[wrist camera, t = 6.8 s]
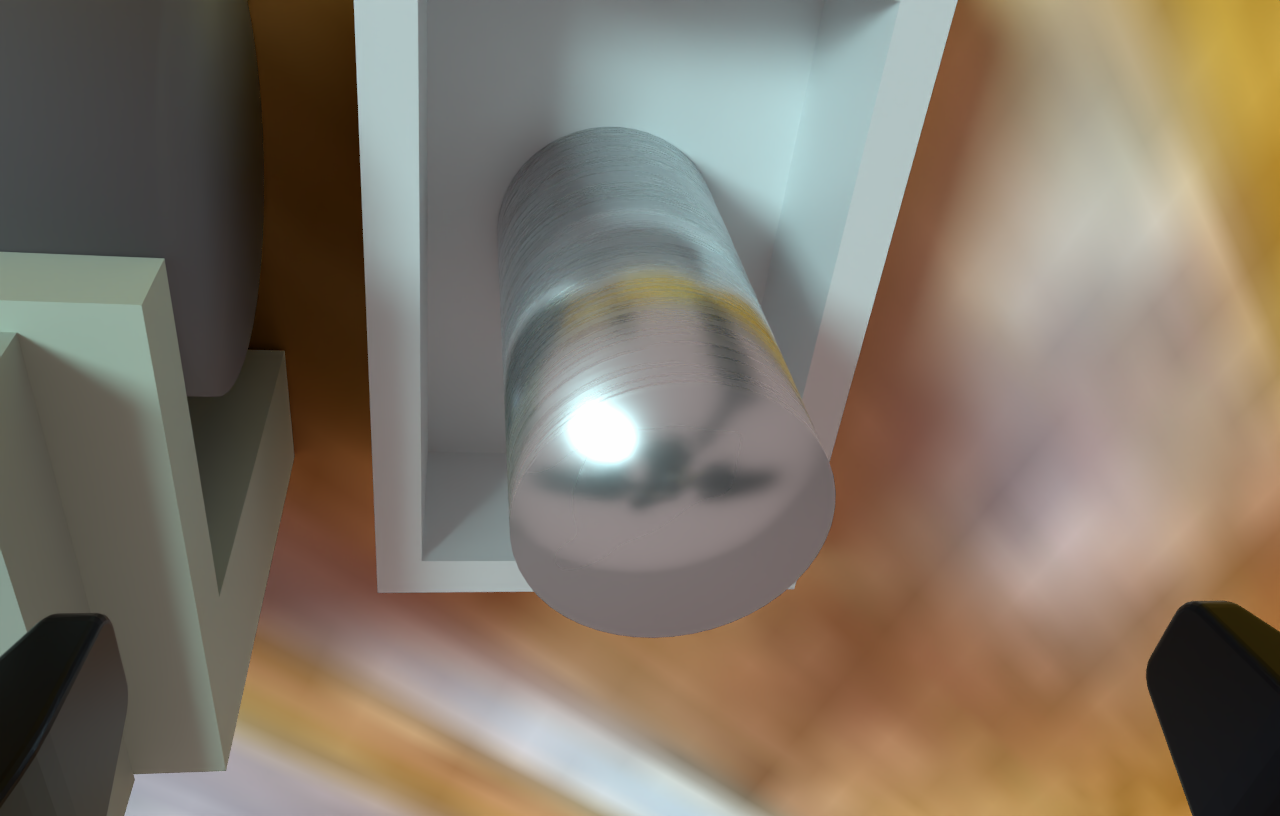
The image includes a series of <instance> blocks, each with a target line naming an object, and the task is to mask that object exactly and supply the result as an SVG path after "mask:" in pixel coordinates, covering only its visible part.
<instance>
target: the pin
mask: <svg viewBox="0 0 1280 816" xmlns="http://www.w3.org/2000/svg"><path fill="white" fill-rule="evenodd" d="M497 246H498V269H499V293H500V317H501V340H502V364H503V387H504V411H505V434H506V458H507V481H508V505H509V529H510V542H511V547H512V552H513V556H514V558H515V561H516V563H517V566H518V569H519V571H520V572H521V574H522V576H523V577H524V579H525V581H526V582H527V584H528V585H529V586H530V587H531V588H532V590H533V591H534V592H535V593H536V594H537V596H538V597H540V598H541V599H542V600H543V601H544V602H545V603H546V604H548V605H549V606H550V607H551V608H553V609H554V610H556V611H557V612H559V613H560V614H562V615H563V616H565V617H567V618H569V619H571V620H573V621H575V622H577V623H579V624H581V625H584V626H587V627H590V628H593V629H596V630H599V631H603V632H607V633H611V634H616V635H623V636H631V637H648V638H657V637H674V636H681V635H687V634H694V633H698V632H702V631H706V630H710V629H714V628H717V627H719V626H722V625H725V624H728V623H731V622H733V621H736V620H738V619H740V618H742V617H745V616H747V615H749V614H751V613H753V612H754V611H756V610H758V609H760V608H761V607H763V606H765V605H767V604H768V603H769V602H771V601H772V600H774V599H775V598H777V597H778V596H779V595H781V594H782V593H783V592H784V591H786V590H787V589H788V588H789V587H790V586H791V585H792V584H794V583H795V582H796V581H797V580H798V579H799V577H800V576H801V575H802V574H803V573H804V572H805V571H806V570H807V569H808V567H809V566H810V565H811V563H812V562H813V560H814V559H815V558H816V556H817V555H818V553H819V551H820V549H821V548H822V546H823V544H824V542H825V540H826V538H827V535H828V533H829V530H830V527H831V525H832V520H833V515H834V510H835V495H836V491H835V483H834V476H833V473H832V470H831V466H830V463H829V460H828V458H827V456H826V453H825V451H824V449H823V447H822V444H821V442H820V440H819V438H818V435H817V433H816V431H815V428H814V426H813V424H812V422H811V419H810V417H809V415H808V413H807V410H806V408H805V406H804V403H803V401H802V399H801V397H800V394H799V392H798V390H797V388H796V385H795V383H794V381H793V378H792V376H791V374H790V372H789V369H788V367H787V365H786V363H785V360H784V358H783V356H782V353H781V351H780V349H779V347H778V344H777V342H776V340H775V338H774V335H773V333H772V331H771V328H770V326H769V324H768V322H767V319H766V317H765V315H764V313H763V310H762V308H761V306H760V303H759V301H758V299H757V297H756V294H755V292H754V290H753V288H752V285H751V283H750V281H749V278H748V276H747V274H746V272H745V269H744V267H743V265H742V263H741V260H740V258H739V256H738V253H737V251H736V249H735V247H734V244H733V242H732V240H731V238H730V235H729V233H728V231H727V228H726V226H725V224H724V222H723V219H722V217H721V215H720V213H719V210H718V208H717V206H716V203H715V201H714V199H713V197H712V194H711V192H710V190H709V188H708V186H707V184H706V182H705V180H704V178H703V176H702V174H701V173H700V171H699V170H698V168H697V167H696V166H695V164H694V163H693V162H692V161H691V160H690V159H689V158H688V157H687V156H686V155H685V154H684V153H683V152H682V151H680V150H679V149H678V148H677V147H675V146H674V145H672V144H671V143H669V142H667V141H666V140H664V139H662V138H660V137H657V136H655V135H653V134H650V133H648V132H644V131H640V130H637V129H632V128H625V127H597V128H589V129H585V130H581V131H577V132H573V133H571V134H568V135H566V136H563V137H561V138H559V139H557V140H555V141H553V142H551V143H549V144H548V145H546V146H545V147H543V148H542V149H541V150H539V151H538V152H536V153H535V154H534V155H533V156H532V157H531V158H530V159H529V160H528V161H527V162H525V163H524V165H523V166H522V167H521V168H520V169H519V171H518V172H517V173H516V174H515V176H514V178H513V179H512V181H511V182H510V184H509V186H508V188H507V190H506V192H505V195H504V197H503V199H502V202H501V206H500V210H499V214H498V222H497Z"/></svg>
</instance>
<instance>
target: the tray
mask: <svg viewBox="0 0 1280 816" xmlns="http://www.w3.org/2000/svg"><path fill="white" fill-rule="evenodd" d="M957 1H958V0H354V20H355V45H356V70H357V94H358V119H359V144H360V169H361V193H362V218H363V243H364V268H365V293H366V317H367V342H368V367H369V392H370V416H371V441H372V466H373V491H374V515H375V540H376V565H377V590H378V593H426V592H534V591H533V590H532V588H531V587H530V586H529V585H528V584H527V582H526V581H525V579H524V577H523V576H522V574H521V572H520V571H519V569H518V566H517V563H516V561H515V558H514V556H513V552H512V547H511V542H510V529H509V505H508V481H507V458H506V434H505V411H504V387H503V364H502V340H501V317H500V293H499V269H498V246H497V222H498V214H499V210H500V206H501V202H502V199H503V197H504V195H505V192H506V190H507V188H508V186H509V184H510V182H511V181H512V179H513V178H514V176H515V174H516V173H517V172H518V171H519V169H520V168H521V167H522V166H523V165H524V163H525V162H527V161H528V160H529V159H530V158H531V157H532V156H533V155H534V154H535V153H536V152H538V151H539V150H541V149H542V148H543V147H545V146H546V145H548V144H549V143H551V142H553V141H555V140H557V139H559V138H561V137H563V136H566V135H568V134H571V133H573V132H577V131H581V130H585V129H589V128H597V127H625V128H632V129H637V130H640V131H644V132H648V133H650V134H653V135H655V136H657V137H660V138H662V139H664V140H666V141H667V142H669V143H671V144H672V145H674V146H675V147H677V148H678V149H679V150H680V151H682V152H683V153H684V154H685V155H686V156H687V157H688V158H689V159H690V160H691V161H692V162H693V163H694V164H695V166H696V167H697V168H698V170H699V171H700V173H701V174H702V176H703V178H704V180H705V182H706V184H707V186H708V188H709V190H710V192H711V194H712V197H713V199H714V201H715V203H716V206H717V208H718V210H719V213H720V215H721V217H722V219H723V222H724V224H725V226H726V228H727V231H728V233H729V235H730V238H731V240H732V242H733V244H734V247H735V249H736V251H737V253H738V256H739V258H740V260H741V263H742V265H743V267H744V269H745V272H746V274H747V276H748V278H749V281H750V283H751V285H752V288H753V290H754V292H755V294H756V297H757V299H758V301H759V303H760V306H761V308H762V310H763V313H764V315H765V317H766V319H767V322H768V324H769V326H770V328H771V331H772V333H773V335H774V338H775V340H776V342H777V344H778V347H779V349H780V351H781V353H782V356H783V358H784V360H785V363H786V365H787V367H788V369H789V372H790V374H791V376H792V378H793V381H794V383H795V385H796V388H797V390H798V392H799V394H800V397H801V399H802V401H803V403H804V406H805V408H806V410H807V413H808V415H809V417H810V419H811V422H812V424H813V426H814V428H815V431H816V433H817V435H818V438H819V440H820V442H821V444H822V447H823V449H824V451H825V453H826V456H827V458H828V460H829V462H830V458H831V455H832V451H833V448H834V444H835V440H836V437H837V433H838V430H839V426H840V422H841V419H842V415H843V412H844V408H845V404H846V401H847V397H848V394H849V390H850V386H851V383H852V379H853V376H854V372H855V368H856V365H857V361H858V358H859V354H860V350H861V347H862V343H863V340H864V336H865V332H866V329H867V325H868V321H869V318H870V314H871V311H872V307H873V303H874V300H875V296H876V293H877V289H878V285H879V282H880V278H881V275H882V271H883V267H884V264H885V260H886V257H887V253H888V249H889V246H890V242H891V239H892V235H893V231H894V228H895V224H896V221H897V217H898V213H899V210H900V206H901V203H902V199H903V195H904V192H905V188H906V185H907V181H908V177H909V174H910V170H911V167H912V163H913V159H914V156H915V152H916V149H917V145H918V141H919V138H920V134H921V131H922V127H923V123H924V120H925V116H926V113H927V109H928V105H929V102H930V98H931V95H932V91H933V87H934V84H935V80H936V77H937V73H938V69H939V66H940V62H941V58H942V55H943V51H944V48H945V44H946V40H947V37H948V33H949V30H950V26H951V22H952V19H953V15H954V12H955V8H956V4H957ZM795 585H796V582H795V583H794V584H792V585H791V586H790V587H789V588H788V589H794V588H795Z"/></svg>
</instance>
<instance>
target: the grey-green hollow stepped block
mask: <svg viewBox="0 0 1280 816" xmlns="http://www.w3.org/2000/svg"><path fill="white" fill-rule="evenodd" d="M263 223H264V148H263V126H262V109H261V96H260V84H259V75H258V66H257V57H256V49H255V42H254V35H253V29H252V23H251V17H250V11H249V6H248V1H247V0H0V656H1V655H2V654H4V653H5V652H6V651H7V650H8V649H9V648H10V647H11V646H12V645H13V644H15V643H16V642H17V641H18V640H19V639H20V638H21V637H22V636H23V635H25V634H26V633H27V632H28V631H29V630H30V629H31V628H32V627H33V626H35V625H36V624H37V623H38V622H39V621H40V620H42V619H43V618H45V617H47V616H49V615H52V614H57V613H100V614H104V615H106V616H107V617H108V618H109V619H110V621H111V623H112V625H113V628H114V631H115V635H116V639H117V643H118V648H119V652H120V656H121V660H122V664H123V668H124V672H125V676H126V680H127V685H128V708H127V715H126V721H125V726H124V731H123V736H122V741H121V746H120V751H119V756H118V762H117V767H116V772H115V777H114V782H113V787H112V792H111V797H110V802H109V807H108V812H107V816H124V814H125V811H126V807H127V804H128V800H129V797H130V794H131V790H132V787H133V784H134V780H135V779H134V775H133V774H152V773H180V772H208V771H226V768H227V763H228V759H229V754H230V750H231V745H232V740H233V736H234V731H235V727H236V722H237V718H238V713H239V708H240V704H241V699H242V695H243V690H244V685H245V681H246V676H247V672H248V667H249V663H250V658H251V653H252V649H253V644H254V640H255V635H256V631H257V626H258V621H259V617H260V612H261V608H262V603H263V599H264V594H265V589H266V585H267V580H268V576H269V571H270V567H271V562H272V557H273V553H274V548H275V544H276V539H277V534H278V530H279V525H280V521H281V516H282V512H283V507H284V502H285V498H286V493H287V489H288V484H289V480H290V475H291V470H292V466H293V461H294V457H295V456H294V445H293V435H292V424H291V413H290V403H289V392H288V382H287V371H286V360H285V351H280V350H248V346H249V343H250V338H251V333H252V329H253V324H254V318H255V312H256V306H257V298H258V290H259V281H260V271H261V260H262V244H263Z"/></svg>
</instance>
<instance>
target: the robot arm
mask: <svg viewBox="0 0 1280 816" xmlns="http://www.w3.org/2000/svg"><path fill="white" fill-rule="evenodd" d="M1146 680H1147V686H1148V690H1149V693H1150V696H1151V699H1152V702H1153V705H1154V708H1155V710H1156V713H1157V716H1158V719H1159V722H1160V725H1161V727H1162V730H1163V733H1164V736H1165V739H1166V742H1167V744H1168V747H1169V750H1170V753H1171V756H1172V759H1173V762H1174V764H1175V767H1176V770H1177V773H1178V776H1179V779H1180V781H1181V784H1182V787H1183V790H1184V793H1185V796H1186V799H1187V801H1188V804H1189V807H1190V810H1191V813H1192V816H1280V632H1279V631H1278V630H1276V629H1275V628H1273V627H1271V626H1270V625H1268V624H1267V623H1265V622H1264V621H1262V620H1261V619H1259V618H1258V617H1256V616H1255V615H1253V614H1252V613H1250V612H1249V611H1247V610H1245V609H1244V608H1242V607H1241V606H1239V605H1237V604H1235V603H1232V602H1227V601H1192V602H1187V603H1186V604H1184V605H1183V606H1181V607H1180V608H1179V609H1178V610H1177V612H1176V613H1175V615H1174V617H1173V618H1172V620H1171V622H1170V624H1169V625H1168V627H1167V629H1166V631H1165V632H1164V634H1163V636H1162V638H1161V639H1160V641H1159V643H1158V645H1157V646H1156V648H1155V650H1154V651H1153V653H1152V655H1151V657H1150V659H1149V661H1148V664H1147V669H1146ZM127 708H128V685H127V680H126V676H125V672H124V668H123V664H122V660H121V656H120V652H119V648H118V643H117V639H116V635H115V631H114V628H113V625H112V623H111V621H110V619H109V618H108V617H107V616H106V615H104V614H100V613H57V614H52V615H49V616H47V617H45V618H43V619H42V620H40V621H39V622H38V623H37V624H36V625H35V626H33V627H32V628H31V629H30V630H29V631H28V632H27V633H26V634H25V635H23V636H22V637H21V638H20V639H19V640H18V641H17V642H16V643H15V644H13V645H12V646H11V647H10V648H9V649H8V650H7V651H6V652H5V653H4V654H2V655H1V656H0V816H107V812H108V807H109V802H110V797H111V792H112V787H113V782H114V777H115V772H116V767H117V762H118V756H119V751H120V746H121V741H122V736H123V731H124V726H125V721H126V715H127Z"/></svg>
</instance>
